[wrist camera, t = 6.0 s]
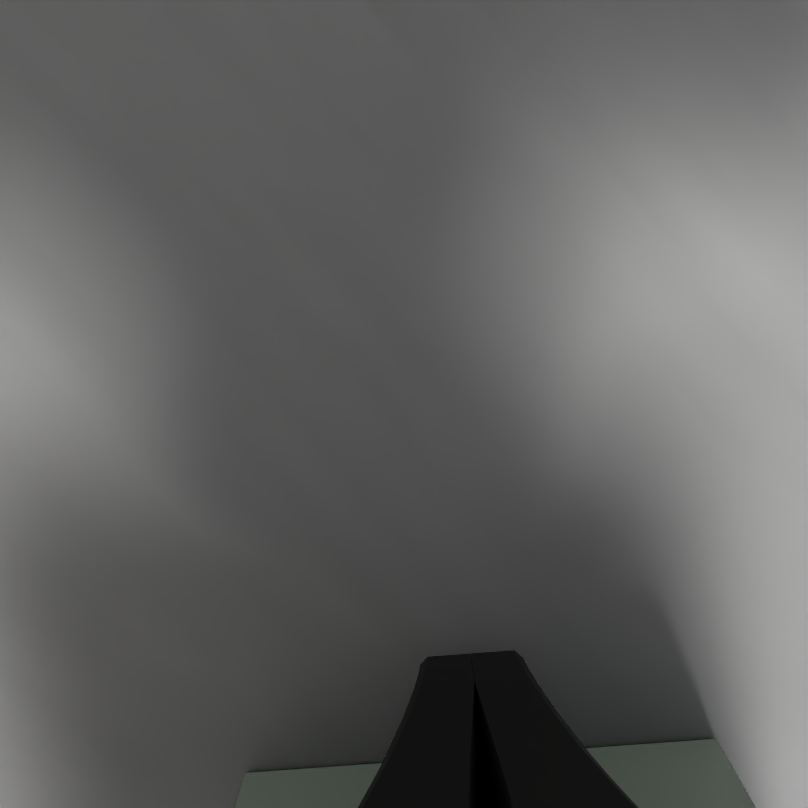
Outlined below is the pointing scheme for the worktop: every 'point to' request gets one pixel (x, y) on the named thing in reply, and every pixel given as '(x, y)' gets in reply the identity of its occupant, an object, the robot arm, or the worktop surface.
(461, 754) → the robot arm
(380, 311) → the worktop surface
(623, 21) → the worktop surface
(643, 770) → the tray
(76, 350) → the worktop surface
